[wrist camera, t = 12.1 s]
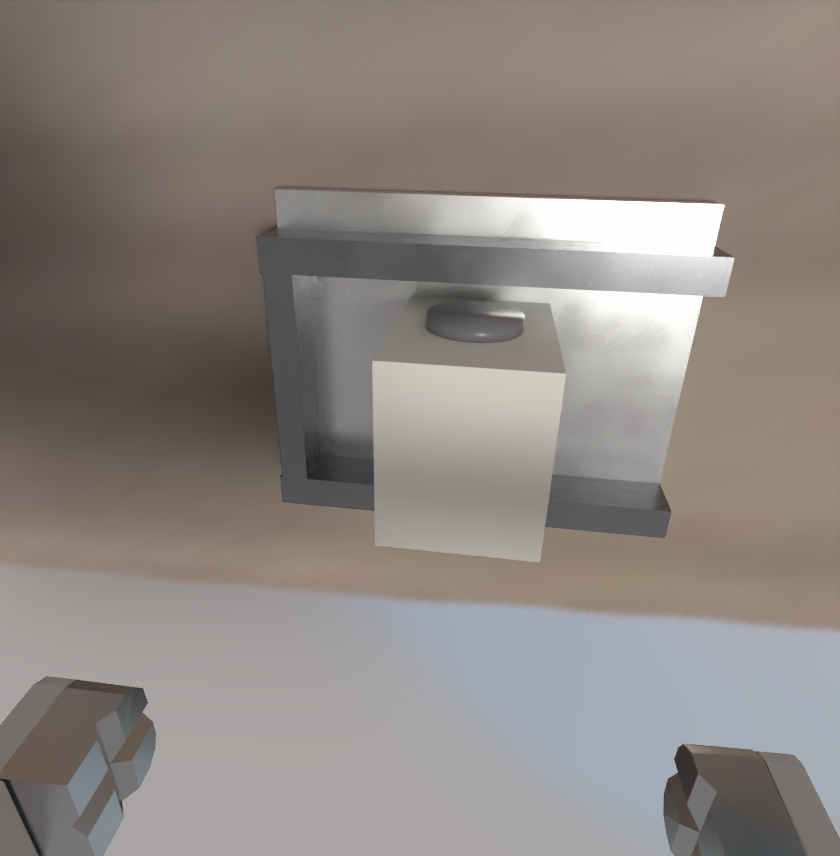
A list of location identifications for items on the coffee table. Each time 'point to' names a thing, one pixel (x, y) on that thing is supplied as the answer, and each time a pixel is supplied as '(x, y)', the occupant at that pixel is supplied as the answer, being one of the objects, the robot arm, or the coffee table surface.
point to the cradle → (503, 281)
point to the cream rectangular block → (466, 427)
